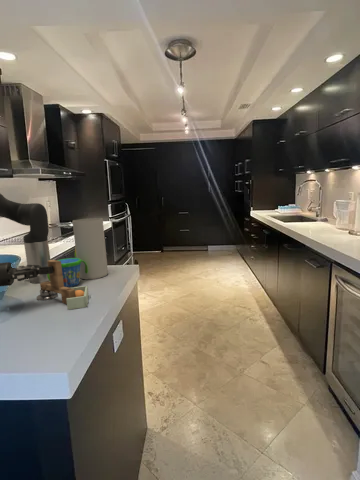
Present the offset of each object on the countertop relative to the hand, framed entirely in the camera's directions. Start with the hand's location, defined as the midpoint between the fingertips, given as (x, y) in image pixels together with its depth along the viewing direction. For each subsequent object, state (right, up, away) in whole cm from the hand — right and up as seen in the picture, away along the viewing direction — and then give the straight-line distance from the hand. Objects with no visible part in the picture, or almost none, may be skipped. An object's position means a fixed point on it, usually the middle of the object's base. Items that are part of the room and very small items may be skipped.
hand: (52, 269), depth 98 cm
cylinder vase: (+4, -6, +33) cm, 34 cm away
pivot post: (-5, -11, +8) cm, 14 cm away
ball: (+8, -9, +1) cm, 12 cm away
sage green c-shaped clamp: (+8, -11, +1) cm, 14 cm away
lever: (0, -11, +4) cm, 11 cm away
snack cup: (-2, -9, +21) cm, 23 cm away
